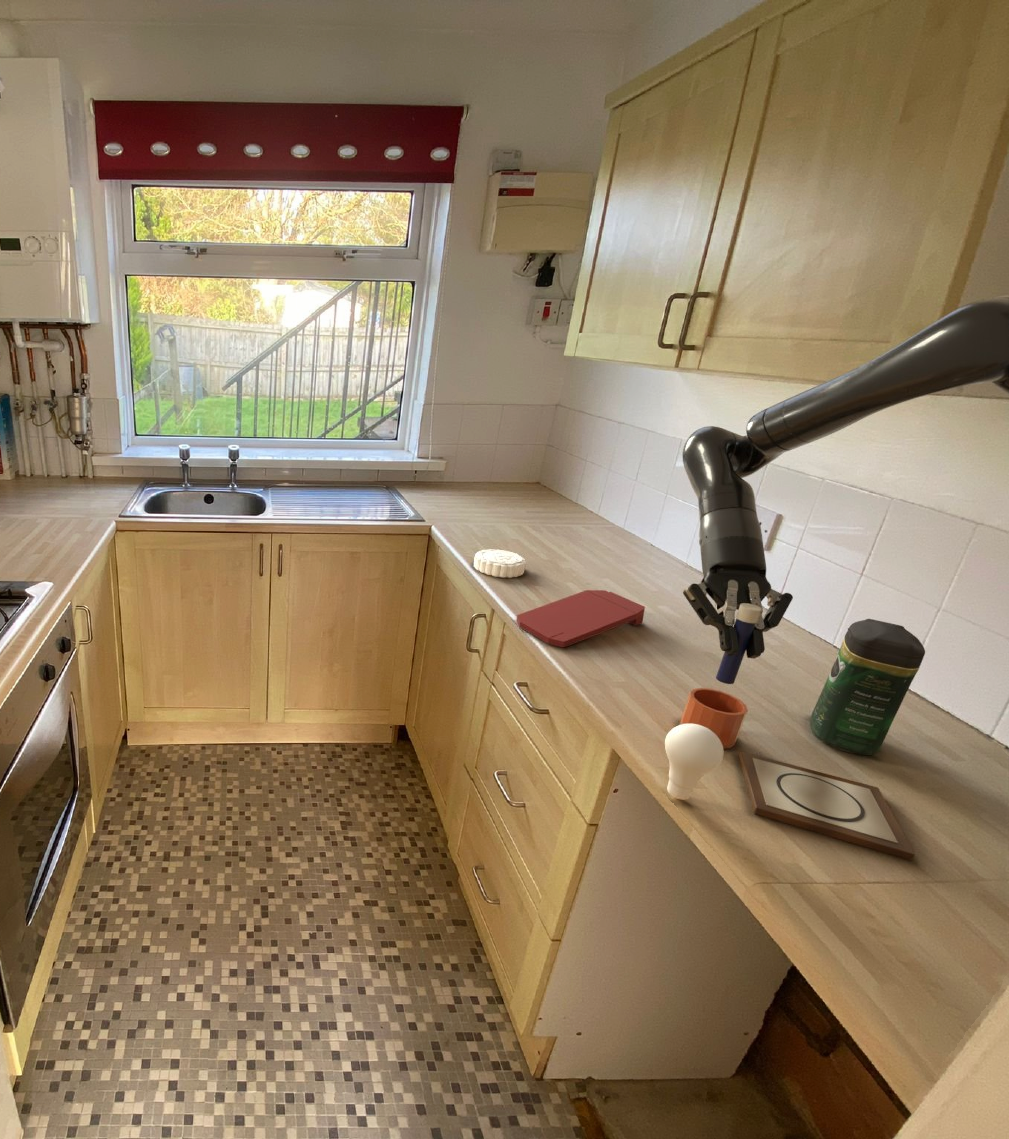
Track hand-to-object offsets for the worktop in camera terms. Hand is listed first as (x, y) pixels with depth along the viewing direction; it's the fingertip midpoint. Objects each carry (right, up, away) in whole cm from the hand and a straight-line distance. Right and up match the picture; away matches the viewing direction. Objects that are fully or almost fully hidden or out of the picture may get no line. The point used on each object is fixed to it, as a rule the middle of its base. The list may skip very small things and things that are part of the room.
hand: (743, 655), depth 88 cm
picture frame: (+5, -19, -6) cm, 20 cm away
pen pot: (0, -13, +7) cm, 15 cm away
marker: (0, -4, +4) cm, 6 cm away
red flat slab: (-1, 0, +41) cm, 41 cm away
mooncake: (-7, +12, +70) cm, 71 cm away
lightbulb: (-13, -18, -5) cm, 23 cm away
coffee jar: (+21, -14, +7) cm, 26 cm away
